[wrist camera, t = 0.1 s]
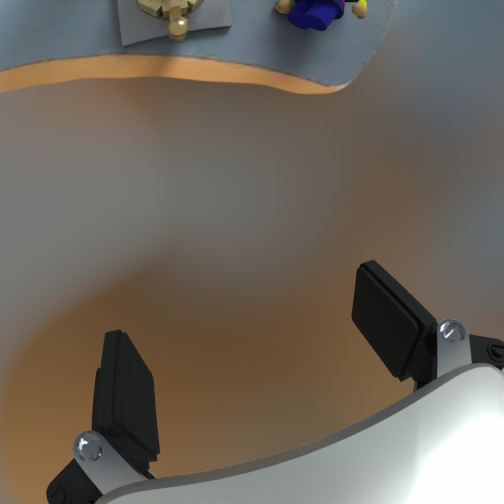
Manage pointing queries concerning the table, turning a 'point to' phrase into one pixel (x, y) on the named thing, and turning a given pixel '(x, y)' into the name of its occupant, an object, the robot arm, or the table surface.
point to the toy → (318, 12)
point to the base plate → (168, 21)
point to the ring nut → (171, 14)
